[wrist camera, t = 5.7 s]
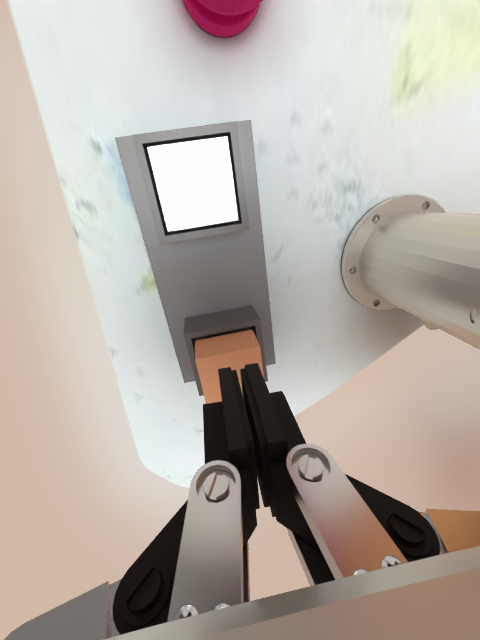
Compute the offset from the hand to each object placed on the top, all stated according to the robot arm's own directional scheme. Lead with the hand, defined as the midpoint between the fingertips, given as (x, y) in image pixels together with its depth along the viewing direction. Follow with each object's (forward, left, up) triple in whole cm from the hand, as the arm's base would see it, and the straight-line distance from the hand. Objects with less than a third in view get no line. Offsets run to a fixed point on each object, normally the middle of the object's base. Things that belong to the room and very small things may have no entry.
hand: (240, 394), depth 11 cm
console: (+1, -1, -19) cm, 19 cm away
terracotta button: (-5, +3, -12) cm, 13 cm away
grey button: (+7, -5, -14) cm, 16 cm away
